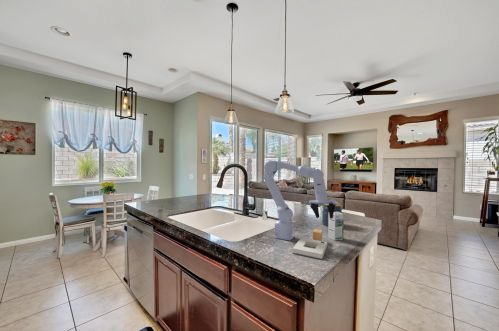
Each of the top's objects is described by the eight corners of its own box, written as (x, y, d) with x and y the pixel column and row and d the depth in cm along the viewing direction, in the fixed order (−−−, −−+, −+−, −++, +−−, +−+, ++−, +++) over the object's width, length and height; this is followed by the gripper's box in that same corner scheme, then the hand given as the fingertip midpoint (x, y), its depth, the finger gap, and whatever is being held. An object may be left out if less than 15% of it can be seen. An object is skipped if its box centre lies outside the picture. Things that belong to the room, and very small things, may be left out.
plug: (312, 242, 112) (312, 231, 112) (314, 239, 117) (314, 228, 117) (320, 244, 110) (320, 233, 110) (322, 240, 115) (322, 230, 115)
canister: (328, 221, 155) (328, 196, 155) (345, 225, 145) (346, 199, 145) (318, 224, 146) (318, 198, 146) (336, 228, 136) (336, 201, 136)
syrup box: (334, 241, 115) (335, 214, 115) (327, 237, 120) (328, 211, 120) (343, 240, 116) (344, 213, 116) (336, 236, 122) (336, 211, 122)
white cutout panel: (292, 253, 98) (292, 247, 98) (301, 242, 112) (301, 236, 112) (322, 259, 92) (322, 252, 92) (327, 247, 106) (327, 241, 106)
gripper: (337, 190, 110) (341, 216, 109) (311, 191, 120) (315, 215, 119) (331, 192, 105) (335, 219, 104) (305, 193, 115) (309, 218, 114)
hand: (324, 217), depth 111 cm, fingers open, 7 cm apart
